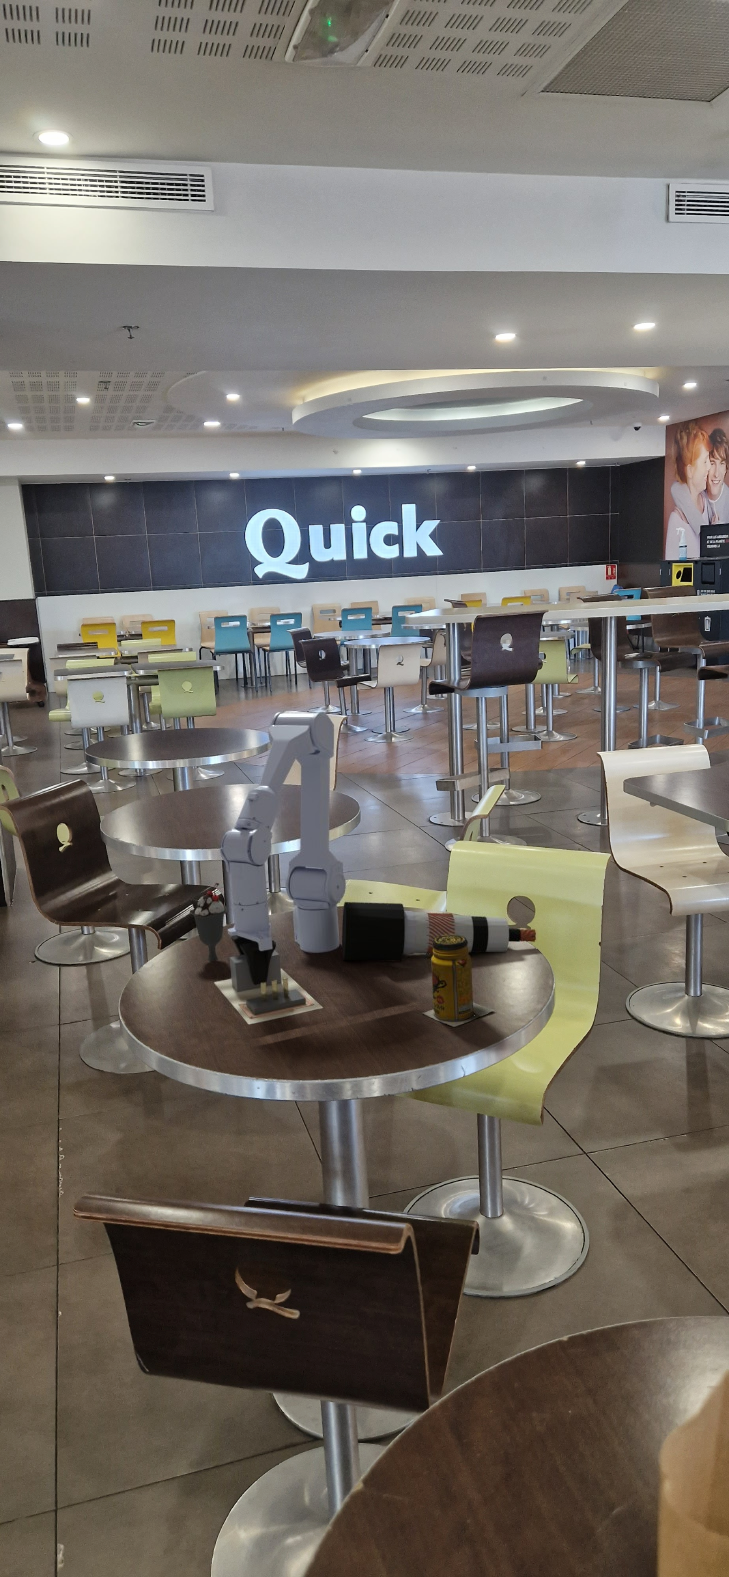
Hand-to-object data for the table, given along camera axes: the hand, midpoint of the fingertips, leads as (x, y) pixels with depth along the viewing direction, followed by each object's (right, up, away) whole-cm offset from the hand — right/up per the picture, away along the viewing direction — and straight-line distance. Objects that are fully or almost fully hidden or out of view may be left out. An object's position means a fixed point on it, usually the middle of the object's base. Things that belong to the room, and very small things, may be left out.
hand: (256, 979), depth 167 cm
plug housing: (0, -1, 0) cm, 1 cm away
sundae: (-9, 0, +14) cm, 17 cm away
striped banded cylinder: (+31, +2, +12) cm, 34 cm away
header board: (+2, -3, -4) cm, 5 cm away
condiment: (+32, -3, -14) cm, 35 cm away
